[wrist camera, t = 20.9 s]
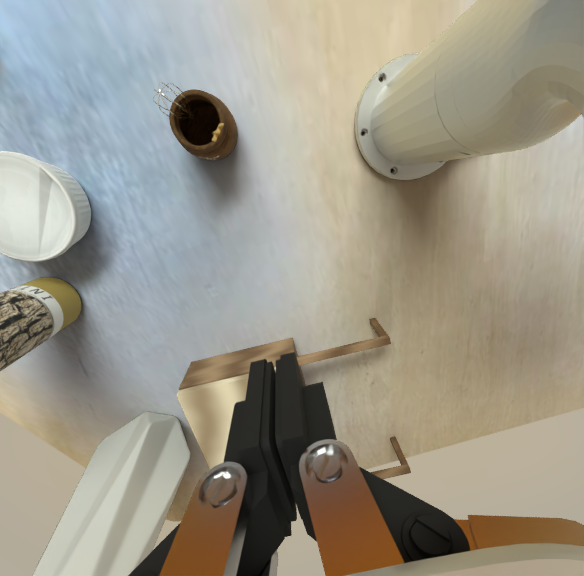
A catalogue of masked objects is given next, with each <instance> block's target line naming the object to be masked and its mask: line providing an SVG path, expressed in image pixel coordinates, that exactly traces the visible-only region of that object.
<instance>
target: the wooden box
mask: <svg viewBox="0 0 584 576" xmlns="http://www.w3.org/2000/svg"><path fill="white" fill-rule="evenodd" d="M369 320H370V324H371V326H372V327H373V329H374V330H375V332H376V333H377V335H378V336H379V337H378V338H373V339H369V340H365V341H361V342H357V343H353V344H348V345H344V346H340V347H336V348H332V349H328V350H323V351H319V352H315V353H311V354H307V355H303V356H297V352H296V349H295V345H294V341H293V338H289V339H285V340H281V341H277V342H273V343H269V344H265V345H260V346H256V347H252V348H248V349H244V350H240V351H236V352H232V353H227V354H223V355H219V356H215V357H211V358H207V359H203V360H198V361H194V362H191V364H190V366H189V368H188V371H187V373H186V375H185V377H184V379H183V381H182V383H181V385H180V387H179V390H182V389H186V388H190V387H195V386H199V385H203V384H207V383H211V382H216V381H220V380H224V379H228V378H232V377H236V376H241V375H245V374H249V370H250V364H251V362H254V361H258V360H262V359H266V360H267V362H271V361H272V363H273V366H274V367H276V360H279V359H280V355H283V354H287V353H291V352H295V354H296V357H297V361H298V364H299V368H300V372H301V375H302V379H303V382H304V386H306V385H305V381H304V378H303V374H302V370H301V367H300V365H304V364H308V363H312V362H316V361H321V360H325V359H329V358H333V357H337V356H342V355H346V354H350V353H354V352H358V351H363V350H367V349H371V348H375V347H379V346H383V345H388V344H391V342H390V338H389V336H388V335H387V333H386V332H385V331H384V329H383V328H382V327H381V325H380V324H379V323H378V321H377V320H376V319H375V318H372V319H369ZM390 439H391V443H392V445H393V447H394V449H395V452H396V454H397V456H398V458H399V461H400V463H401V465H402V466H398V467H393V468H389V469H384V470H380V471H375V472H371V473H372V474H374V475H376V476H377V477H379V478H381V479H386V478H390V477H394V476H399V475H403V474H407V473H411V471H410V468H409V466H408V464H407V461H406V459H405V457H404V455H403V453H402V450H401V448H400V446H399V444H398V442H397V440H396V438H395V437H391V438H390Z"/></svg>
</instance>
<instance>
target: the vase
mask: <svg viewBox="0 0 584 576" xmlns="http://www.w3.org/2000/svg"><path fill="white" fill-rule="evenodd" d="M190 457H191V454H190V451H189V448H188V445H187V442H186V439H185V436H184V433H183V430H182V427H181V425H180V422H179V420H178V418H176V417H175V416H171V415H166V414H160V413H153V412H145V413H143V414H141V415H139V416H138V417H136V418H135V419H133V420H132V421H130V422H129V423H127V424H126V425H124V426H123V427H121V428H120V429H118V430H117V431H115V432H114V433H112V434H111V435H109V436H108V437H106V438H105V439H103V440H102V441H101V443H100V444H99V445H98V447H97V448H96V450H95V452H94V454H93V456H92V458H91V460H90V462H89V464H88V465H87V467H86V469H85V471H84V473H83V475H82V477H81V479H80V481H79V483H78V485H77V487H76V489H75V491H74V493H73V495H72V497H71V499H70V501H69V503H68V505H67V507H66V509H65V511H64V513H63V515H62V517H61V519H60V521H59V523H58V525H57V527H56V529H55V531H54V533H53V535H52V537H51V539H50V541H49V543H48V545H47V547H46V549H45V551H44V552H43V555H42V556H41V558H40V560H39V562H38V564H37V566H36V569H35V570H34V573H33V574H32V576H128V575H129V574H130V573H131V572H132V571H133V570H134V569H135V568H136V567H137V566H138V565H139V564H140V563H141V562H142V561H143V560H144V559H145V558H146V557H147V556H148V555H149V554H150V553H151V552H152V550H153V548H154V545H155V543H156V540H157V538H158V536H159V533H160V531H161V528H162V526H163V524H164V521H165V519H166V517H167V514H168V512H169V509H170V507H171V505H172V502H173V500H174V497H175V495H176V493H177V490H178V488H179V485H180V483H181V481H182V478H183V476H184V474H185V471H186V469H187V466H188V463H189V461H190Z"/></svg>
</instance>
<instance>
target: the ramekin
mask: <svg viewBox="0 0 584 576" xmlns="http://www.w3.org/2000/svg"><path fill="white" fill-rule="evenodd" d="M90 221H91V208H90V204H89V201H88V198H87V196H86V194H85V192H84V190H83V189H82V187H81V186H80V184H79V183H78V182H77V181H76V180H75V179H74V178H73V177H72V176H71V175H69V174H68V173H66V172H65V171H64V170H61V169H60V168H58V167H56V166H53V165H51V164H48V163H45V162H42V161H39V160H37V159H35V158H33V157H30V156H27V155H24V154H21V153H16V152H7V151H0V253H1V254H3V255H5V256H8V257H10V258H13V259H17V260H22V261H27V262H40V261H46V260H50V259H53V258H56V257H58V256H60V255H62V254H63V253H65V252H66V251H67V250H68V249H69V248H70V247H71V246H72V245H74V244H75V243H77V242H78V241H79V240H80V239H82V237H83V236H84V235H85V234H86V232H87V231H88V228H89V226H90Z"/></svg>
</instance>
